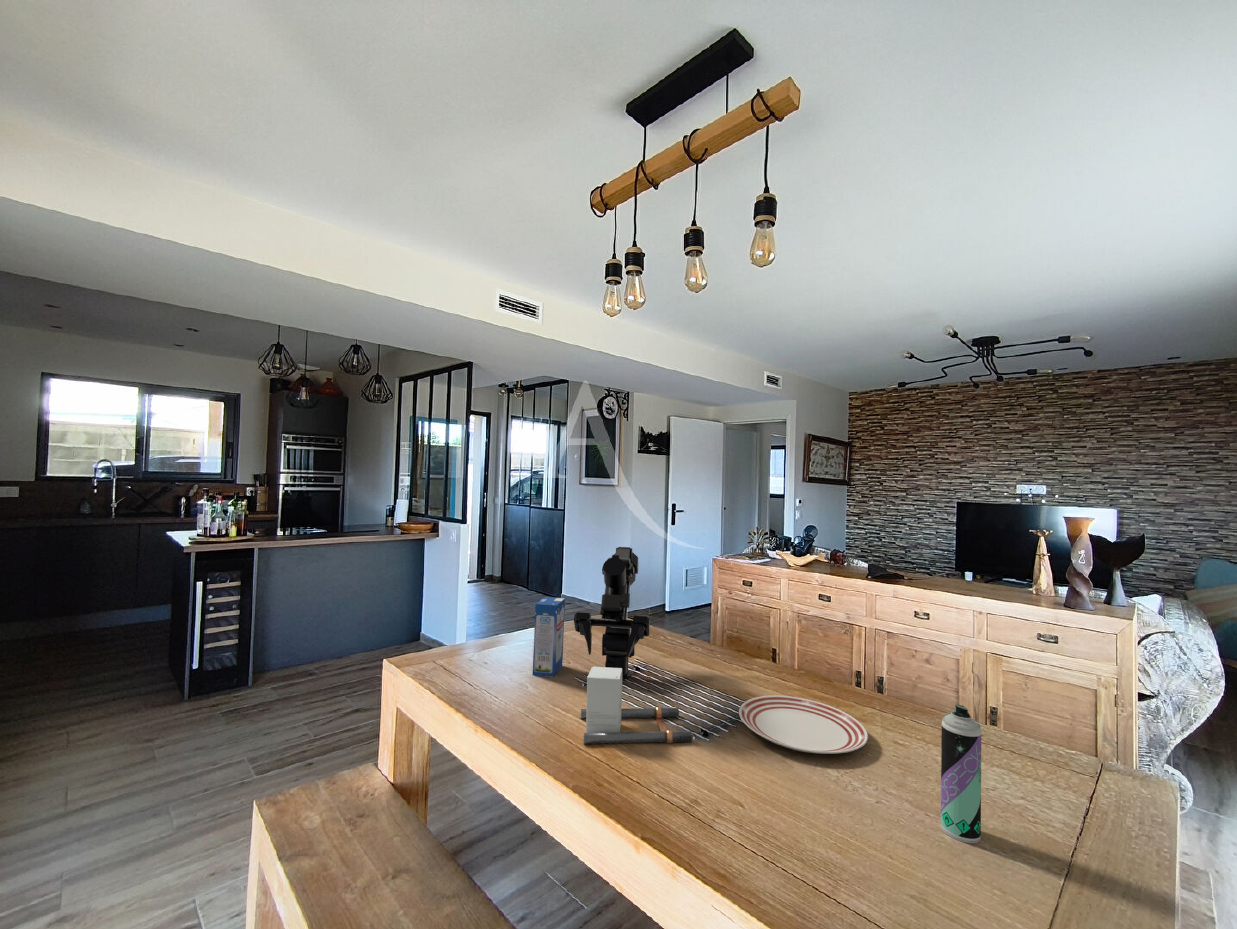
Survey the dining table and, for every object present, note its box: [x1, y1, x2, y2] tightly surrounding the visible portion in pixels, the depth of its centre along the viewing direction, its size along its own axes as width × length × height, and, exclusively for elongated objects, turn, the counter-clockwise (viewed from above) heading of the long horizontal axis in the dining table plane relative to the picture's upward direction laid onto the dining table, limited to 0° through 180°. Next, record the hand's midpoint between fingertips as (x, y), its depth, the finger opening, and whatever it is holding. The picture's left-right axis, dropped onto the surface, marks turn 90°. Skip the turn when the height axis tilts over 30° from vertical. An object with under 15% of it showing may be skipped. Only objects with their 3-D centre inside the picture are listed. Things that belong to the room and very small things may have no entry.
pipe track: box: [580, 706, 693, 745], centre depth 118 cm, size 23×15×3 cm, turn 97°
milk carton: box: [532, 596, 566, 678], centre depth 154 cm, size 10×6×20 cm, turn 172°
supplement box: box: [585, 666, 623, 733], centre depth 118 cm, size 7×7×13 cm
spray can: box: [940, 704, 982, 844], centre depth 86 cm, size 6×6×20 cm
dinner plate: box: [738, 695, 869, 755], centre depth 120 cm, size 27×27×3 cm
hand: (608, 655), depth 126 cm, fingers open, 9 cm apart
